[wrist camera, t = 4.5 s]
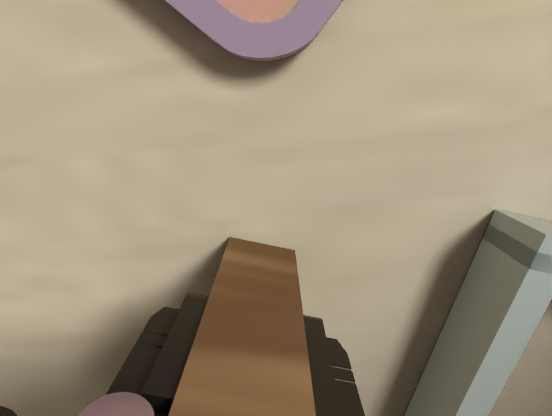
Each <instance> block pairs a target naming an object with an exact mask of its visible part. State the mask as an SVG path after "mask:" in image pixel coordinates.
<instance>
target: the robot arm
mask: <svg viewBox="0 0 552 416" xmlns="http://www.w3.org/2000/svg"><path fill="white" fill-rule="evenodd" d="M208 298H209V297H207V296H201V295H196V294H191V293H187V295H186V297H185V299H184V301H183V304H182V306H181V308H180V310H179V309H173V308H168V307H164V308H163V309H161V310H160V311H158V312H157V313H156V314H154V315H153V316H151V318H150V319H149V321H148V323H147V325H146V326H145V328H144V330H143V333H141V335H140V337H139V338H138V340H137V342H136V345H134V347H133V349H132V351H131V352H130V354H129V356H128V357H127V359H126V361H125V363H124V364H123V366H122V368H121V370H120V371H119V373H118V375H117V376H116V378H115V380H114V382H113V383H112V385H111V387H110V389H109V390H108V392H107V393H106V395H104V396H102V397H100V398H98V399H96V400H94V401H93V402H91V403H90V404H89V405H87V406H86V407H85V408H84V409H83V410H82V411H81V413H80V414H79V415H78V416H168V415H169V412H170V409H171V406H172V403H173V400H174V398H175V395H176V392H177V389H178V386H179V383H180V380H181V377H182V374H183V371H184V368H185V365H186V362H187V360H188V357H189V354H190V351H191V348H192V345H193V342H194V339H195V336H196V333H197V330H198V327H199V325H200V322H201V319H202V316H203V313H204V310H205V307H206V304H207V301H208ZM303 318H304V326H305V334H306V341H307V349H308V357H309V365H310V373H311V380H312V388H313V396H314V404H315V412H316V416H365V415H364V411H363V408H362V404H361V401H360V397H359V394H358V390H357V386H356V384H355V379H354V376H353V372H352V371H351V365H350V362H349V358H348V355H347V353H346V351H345V350H344V349H343V347H342V346H341V344H340V343H339V342H338V340H337V339H332V338H327V337H326V335H325V330H324V326H323V321H322V319H321V318H315V317H310V316H305V315H303ZM0 416H17V415H16V414H15V412H13V411H12V410H10V409H8V408H6V407H2V406H0Z"/></svg>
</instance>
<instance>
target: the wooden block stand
mask: <svg viewBox="0 0 552 416" xmlns="http://www.w3.org/2000/svg"><path fill="white" fill-rule="evenodd" d="M168 416H316V412H315V404H314V396H313V388H312V380H311V373H310V365H309V357H308V349H307V341H306V334H305V326H304V318H303V310H302V302H301V294H300V287H299V279H298V271H297V263H296V255H295V250H290V249H285V248H280V247H275V246H270V245H265V244H261V243H256V242H251V241H246V240H241V239H236V238H231V237H229V240H228V243H227V246H226V249H225V252H224V254H223V257H222V260H221V263H220V266H219V269H218V272H217V275H216V278H215V281H214V284H213V287H212V289H211V292H210V295H209V298H208V301H207V304H206V307H205V310H204V313H203V316H202V319H201V322H200V325H199V327H198V330H197V333H196V336H195V339H194V342H193V345H192V348H191V351H190V354H189V357H188V360H187V362H186V365H185V368H184V371H183V374H182V377H181V380H180V383H179V386H178V389H177V392H176V395H175V398H174V400H173V403H172V406H171V409H170V412H169V415H168Z"/></svg>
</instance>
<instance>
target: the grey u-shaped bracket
mask: <svg viewBox="0 0 552 416" xmlns="http://www.w3.org/2000/svg"><path fill="white" fill-rule="evenodd" d="M551 300H552V222H549V221H545V220H540V219H536V218H531V217H527V216H522V215H518V214H513V213H509V212H504V211H500V210H495V211H494V214H493V216H492V218H491V220H490V223H489V225H488V227H487V229H486V232H485V234H484V236H483V238H482V241H481V243H480V245H479V247H478V250H477V252H476V254H475V257H474V259H473V261H472V263H471V266H470V268H469V270H468V272H467V275H466V277H465V279H464V281H463V284H462V286H461V288H460V290H459V293H458V295H457V297H456V299H455V302H454V304H453V306H452V309H451V311H450V313H449V315H448V318H447V320H446V322H445V324H444V327H443V329H442V331H441V333H440V336H439V338H438V340H437V342H436V345H435V347H434V349H433V351H432V354H431V356H430V358H429V361H428V363H427V365H426V367H425V370H424V372H423V374H422V376H421V379H420V381H419V383H418V385H417V388H416V390H415V392H414V394H413V397H412V399H411V401H410V403H409V406H408V408H407V410H406V413H405V415H404V416H489V414H490V412H491V410H492V408H493V407H494V405H495V403H496V401H497V399H498V397H499V396H500V394H501V392H502V390H503V388H504V386H505V384H506V383H507V381H508V379H509V377H510V375H511V373H512V372H513V370H514V368H515V366H516V364H517V362H518V360H519V359H520V357H521V355H522V353H523V351H524V349H525V348H526V346H527V344H528V342H529V340H530V338H531V336H532V335H533V333H534V331H535V329H536V327H537V325H538V324H539V322H540V320H541V318H542V316H543V314H544V312H545V311H546V309H547V307H548V305H549V303H550V301H551Z"/></svg>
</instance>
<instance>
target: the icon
mask: <svg viewBox="0 0 552 416" xmlns="http://www.w3.org/2000/svg"><path fill="white" fill-rule="evenodd" d="M164 1H166V2H167V3H168V4H169V5H171V6H172V7H173V8H174V9H175V10H177V11H178V12H179V13H180V14H181V15H183V16H184V17H185V18H186V19H187V20H189V21H190V22H191V23H192V24H193V25H195V26H196V27H197V28H198V29H199V30H201V31H202V32H203V33H204V34H206V35H207V36H208V37H209V38H210V39H212V40H213V41H214V42H215V43H217V44H218V45H219V46H221V47H222V48H223V49H225V50H226V51H227V52H229V53H230V54H232V55H234V56H236V57H239V58H241V59H244V60H250V61H258V62H262V61H274V60H279V59H283V58H287V57H289V56H291V55H294V54H296V53H298V52H299V51H301V50H302V49H304V48H305V47H307V46H308V45H309V44H310V43H311V42H312V41H313V39H314V38H315V37H316V36H317V35H318V33H319V32H320V31H321V29H322V28H323V27H324V25H325V24H326V23H327V21H328V20H329V19H330V17H331V16H332V15H333V13H334V12H335V11H336V9H337V8H338V6H339V5H340V4H341V2H342V1H343V0H164Z"/></svg>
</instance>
